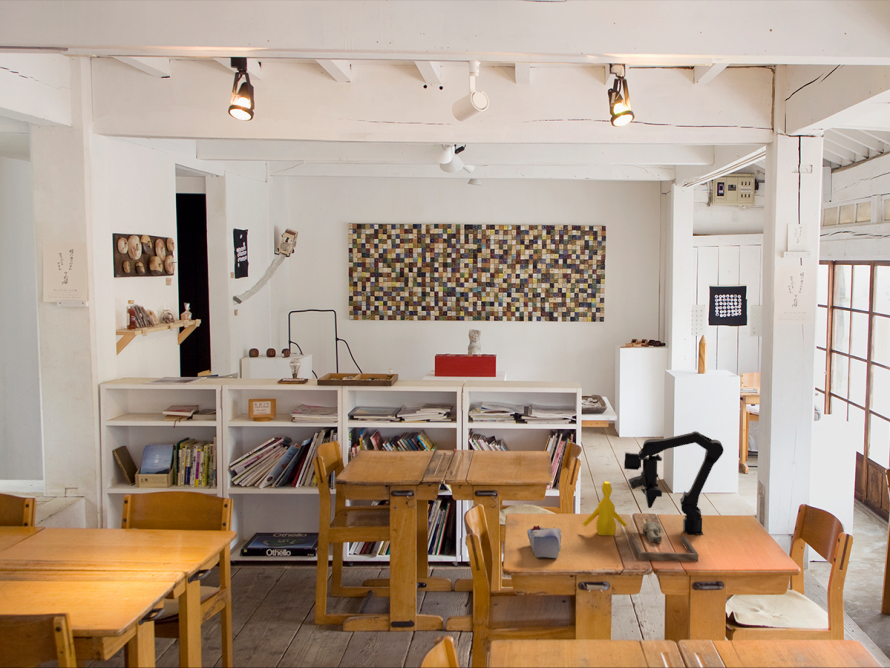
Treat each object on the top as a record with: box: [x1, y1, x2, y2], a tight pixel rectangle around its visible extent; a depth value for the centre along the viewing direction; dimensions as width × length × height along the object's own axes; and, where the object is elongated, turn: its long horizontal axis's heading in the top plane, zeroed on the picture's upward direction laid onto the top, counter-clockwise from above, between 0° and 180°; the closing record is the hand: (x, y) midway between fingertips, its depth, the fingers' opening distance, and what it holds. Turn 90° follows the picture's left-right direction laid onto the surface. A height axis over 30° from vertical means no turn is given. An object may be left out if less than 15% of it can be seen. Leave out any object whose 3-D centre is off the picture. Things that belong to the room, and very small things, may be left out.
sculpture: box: [642, 521, 662, 544], centre depth 298 cm, size 7×5×15 cm
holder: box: [628, 533, 699, 562], centre depth 284 cm, size 21×21×2 cm
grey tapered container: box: [526, 525, 562, 559], centre depth 283 cm, size 13×11×20 cm
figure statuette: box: [582, 481, 627, 536], centre depth 302 cm, size 18×8×22 cm, turn 88°
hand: (649, 507), depth 309 cm, fingers closed
